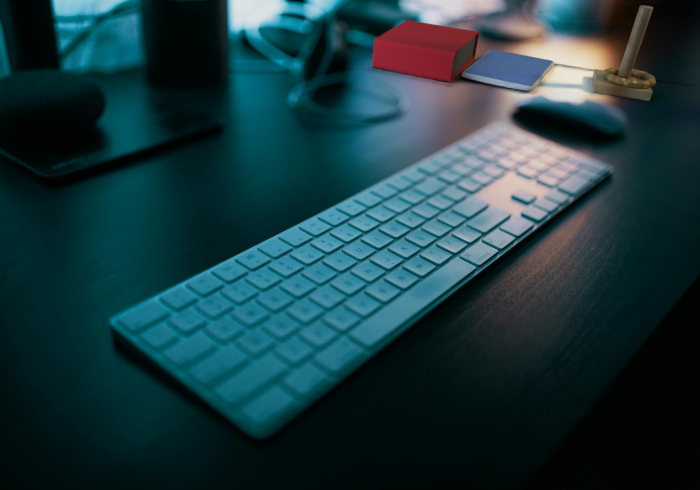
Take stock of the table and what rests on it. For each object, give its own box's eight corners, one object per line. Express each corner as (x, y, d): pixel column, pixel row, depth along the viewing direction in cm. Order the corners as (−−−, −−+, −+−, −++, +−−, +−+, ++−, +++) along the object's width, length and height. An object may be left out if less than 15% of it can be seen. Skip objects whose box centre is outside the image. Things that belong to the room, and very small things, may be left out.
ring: (651, 77, 103) (653, 71, 102) (656, 92, 96) (658, 85, 95) (601, 70, 105) (603, 63, 104) (603, 84, 98) (605, 76, 97)
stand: (645, 85, 104) (673, 5, 96) (649, 101, 97) (680, 16, 89) (592, 77, 106) (616, -2, 98) (593, 92, 99) (618, 8, 91)
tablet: (490, 54, 114) (491, 47, 114) (554, 66, 110) (556, 59, 109) (458, 80, 100) (460, 72, 99) (531, 95, 96) (533, 87, 95)
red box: (405, 45, 116) (408, 19, 113) (474, 57, 112) (479, 30, 109) (371, 68, 102) (374, 39, 99) (449, 83, 98) (454, 53, 95)
